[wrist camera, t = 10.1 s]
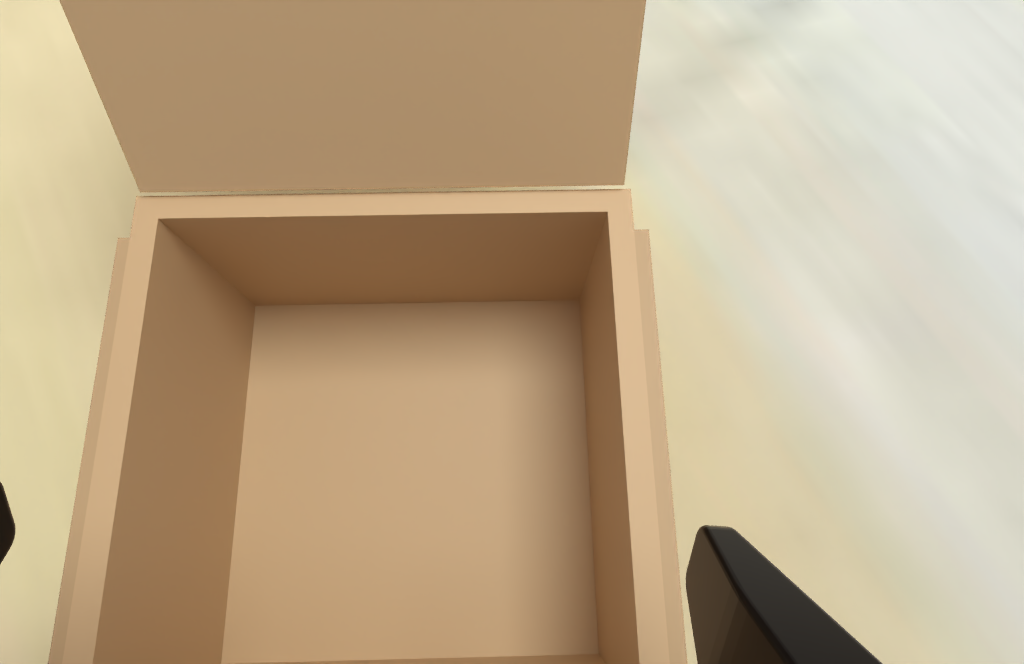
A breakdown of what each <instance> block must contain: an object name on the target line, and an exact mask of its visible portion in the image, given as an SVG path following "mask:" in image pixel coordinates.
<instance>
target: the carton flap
mask: <svg viewBox="0 0 1024 664" xmlns="http://www.w3.org/2000/svg"><path fill="white" fill-rule="evenodd" d="M60 3H61V5H62V7H63V10H64V12H65V15H66V17H67V19H68V22H69V24H70V26H71V29H72V31H73V34H74V36H75V38H76V41H77V43H78V45H79V48H80V50H81V53H82V55H83V57H84V60H85V62H86V64H87V67H88V69H89V72H90V74H91V76H92V79H93V81H94V83H95V86H96V88H97V91H98V93H99V95H100V98H101V100H102V102H103V105H104V107H105V110H106V112H107V114H108V117H109V119H110V121H111V124H112V126H113V129H114V131H115V133H116V136H117V138H118V140H119V143H120V145H121V148H122V150H123V152H124V155H125V157H126V159H127V162H128V164H129V167H130V169H131V171H132V174H133V176H134V178H135V181H136V183H137V186H138V188H139V190H140V192H192V191H258V190H325V189H391V188H457V187H524V186H590V185H624V180H625V172H626V164H627V155H628V147H629V139H630V130H631V122H632V113H633V105H634V97H635V88H636V80H637V72H638V63H639V55H640V47H641V38H642V30H643V21H644V13H645V5H646V0H60Z"/></svg>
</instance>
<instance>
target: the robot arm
mask: <svg viewBox="0 0 1024 664" xmlns="http://www.w3.org/2000/svg"><path fill="white" fill-rule="evenodd" d="M14 536H15V523H14V520H13V517H12V514H11V510H10V507H9V504H8V501H7V497H6V494H5V491H4V488H3V485H2V483H1V482H0V564H1V562H2V561H3V559H4V557H5V556H6V554H7V552H8V551H9V549H10V547H11V545H12V543H13V540H14ZM686 591H687V597H688V604H689V610H690V617H691V623H692V629H693V636H694V642H695V648H696V655H697V661H698V664H882V663H881V662H880V661H879V660H878V659H877V658H876V657H875V656H873V655H872V654H871V653H870V652H869V651H868V650H867V649H866V648H865V647H863V646H862V645H861V644H860V643H859V642H858V641H857V640H856V639H855V638H854V637H852V636H851V635H850V634H849V633H848V632H847V631H846V630H845V629H844V628H843V627H841V626H840V625H839V624H838V623H837V622H836V621H835V620H834V619H833V618H832V617H830V616H829V615H828V614H827V613H826V612H825V611H824V610H823V609H822V608H821V607H819V606H818V605H817V604H816V603H815V602H814V601H813V600H812V599H811V598H810V597H808V596H807V595H806V594H805V593H804V592H803V591H802V590H801V589H800V588H799V587H797V586H796V585H795V584H794V583H793V582H792V581H791V580H790V579H789V578H788V577H786V576H785V575H784V574H783V573H782V572H781V571H780V570H779V569H778V568H777V567H775V566H774V565H773V564H772V563H771V562H770V561H769V560H768V559H767V558H766V557H764V556H763V555H762V554H761V553H760V552H759V551H758V550H757V549H756V548H755V547H753V546H752V545H751V544H750V543H749V542H748V541H747V540H746V539H745V538H744V537H742V536H741V535H740V534H739V533H738V532H737V531H736V530H734V529H733V528H730V527H724V526H709V525H704V526H702V527H700V529H699V530H698V532H697V534H696V538H695V542H694V546H693V549H692V553H691V557H690V561H689V565H688V568H687V573H686Z"/></svg>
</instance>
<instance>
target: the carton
mask: <svg viewBox="0 0 1024 664" xmlns="http://www.w3.org/2000/svg"><path fill="white" fill-rule="evenodd" d="M48 664H687V654H686V643H685V631H684V620H683V609H682V598H681V587H680V575H679V564H678V553H677V542H676V531H675V519H674V508H673V497H672V486H671V475H670V463H669V452H668V441H667V430H666V419H665V407H664V396H663V385H662V374H661V363H660V351H659V340H658V329H657V318H656V307H655V295H654V284H653V273H652V262H651V251H650V239H649V230H634V223H633V211H632V199H631V189H596V190H530V191H464V192H398V193H332V194H266V195H200V196H136V202H135V208H134V215H133V221H132V227H131V234H130V238H118V242H117V248H116V254H115V260H114V266H113V273H112V279H111V285H110V291H109V297H108V303H107V309H106V315H105V321H104V327H103V333H102V339H101V345H100V351H99V357H98V364H97V370H96V376H95V382H94V388H93V394H92V400H91V406H90V412H89V418H88V424H87V430H86V436H85V442H84V448H83V455H82V461H81V467H80V473H79V479H78V485H77V491H76V497H75V503H74V509H73V515H72V521H71V527H70V533H69V540H68V546H67V552H66V558H65V564H64V570H63V576H62V582H61V588H60V594H59V600H58V606H57V612H56V618H55V624H54V631H53V637H52V643H51V649H50V655H49V661H48Z"/></svg>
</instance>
